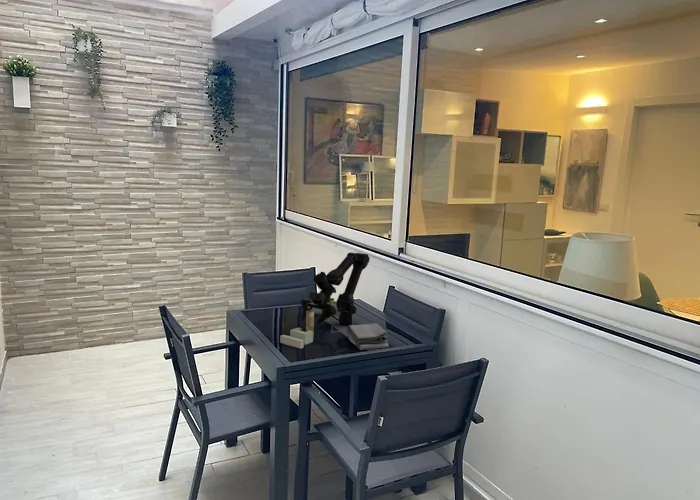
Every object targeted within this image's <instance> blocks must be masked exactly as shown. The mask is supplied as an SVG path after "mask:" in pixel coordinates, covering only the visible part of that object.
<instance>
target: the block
mask: <svg viewBox="0 0 700 500" xmlns="http://www.w3.org/2000/svg"><path fill="white" fill-rule="evenodd" d="M289 334H290V335H289V336H290V337H294V338H298V339H301V340H304V346H306V345H308V344H311V343H313V342H314V338H313V331H307V332H306V331H303V330H302V328H301V327H296V328H292V329H290V333H289Z"/></svg>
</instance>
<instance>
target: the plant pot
mask: <svg viewBox="0 0 700 500" xmlns="http://www.w3.org/2000/svg"><path fill="white" fill-rule="evenodd" d="M329 300H330V302H328V303H327V304H330V305H333V306H334V303H335V301H336V299H335V298H333V297H330V299H329ZM319 314H320V315H321V314H322V310H321V309H319Z"/></svg>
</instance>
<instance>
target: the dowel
mask: <svg viewBox="0 0 700 500" xmlns="http://www.w3.org/2000/svg"><path fill="white" fill-rule="evenodd" d="M305 321H306V322H305V323H306V324H305V332H307V331H313V339H314V337H315V336H314V335H315V334H314V333H315V328H314V327H315V311H314V310H310V311H306V318H305Z"/></svg>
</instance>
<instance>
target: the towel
mask: <svg viewBox="0 0 700 500" xmlns="http://www.w3.org/2000/svg"><path fill="white" fill-rule="evenodd" d="M346 331H347V333H346V334H347V335H346V337H347V338H348V340H349V341H350V343H352V344H354V345H355V346H356V347H357V348H358V350H360V351H362V350H363V351H364V350H373V349H384V348H386V347H387V348H389V343H388V342H389V341H388V336H387V334H388V333H387V331H386V330H385V329H383V327H381V325H379V324H378V323H376V322H374V323H368V324H366V323H362V324H352V325H350V326H349V325H347V328H346ZM387 348H386V349H387Z"/></svg>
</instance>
